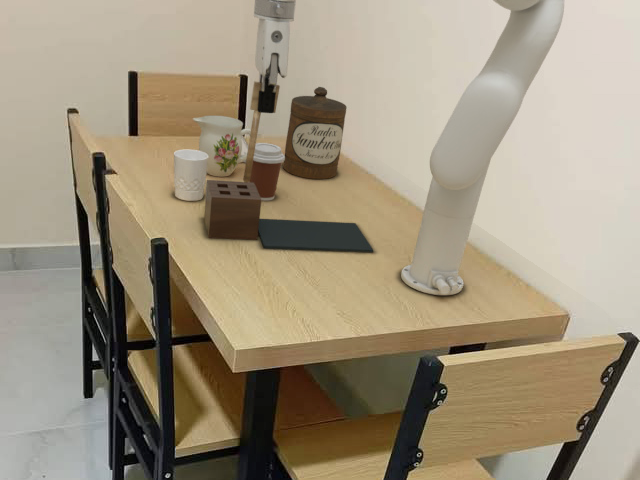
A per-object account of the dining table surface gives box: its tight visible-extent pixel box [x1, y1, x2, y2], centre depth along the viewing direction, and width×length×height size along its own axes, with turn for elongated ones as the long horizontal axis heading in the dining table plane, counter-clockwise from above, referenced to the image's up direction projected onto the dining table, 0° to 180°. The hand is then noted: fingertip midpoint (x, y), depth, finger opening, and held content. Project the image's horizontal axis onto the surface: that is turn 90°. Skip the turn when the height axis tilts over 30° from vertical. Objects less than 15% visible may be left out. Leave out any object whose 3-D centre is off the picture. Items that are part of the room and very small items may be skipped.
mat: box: [258, 218, 374, 253], centre depth 163 cm, size 15×24×1 cm, turn 100°
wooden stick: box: [242, 80, 281, 183], centre depth 149 cm, size 1×5×20 cm, turn 100°
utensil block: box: [203, 179, 262, 241], centre depth 159 cm, size 10×10×9 cm
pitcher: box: [192, 115, 251, 177], centre depth 189 cm, size 11×18×14 cm, turn 119°
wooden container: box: [282, 86, 347, 180], centre depth 197 cm, size 15×15×22 cm
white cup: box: [173, 148, 208, 202], centre depth 172 cm, size 8×8×10 cm
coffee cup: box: [249, 142, 285, 202], centre depth 178 cm, size 9×9×12 cm
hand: (264, 110), depth 146 cm, fingers closed on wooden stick, 1 cm apart
